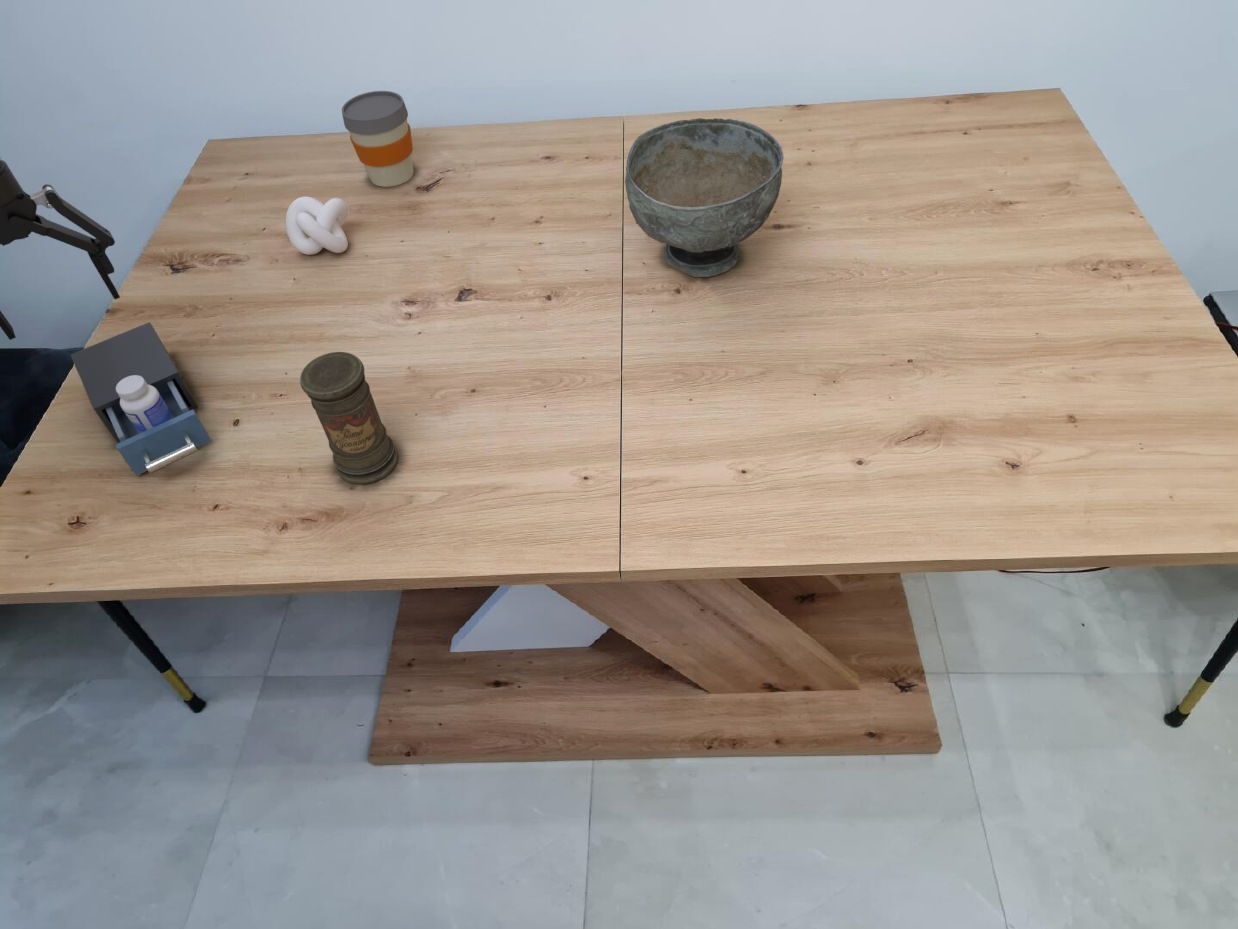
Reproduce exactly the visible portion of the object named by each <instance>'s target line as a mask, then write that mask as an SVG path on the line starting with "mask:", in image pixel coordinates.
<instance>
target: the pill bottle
mask: <svg viewBox="0 0 1238 929" xmlns="http://www.w3.org/2000/svg"><path fill="white" fill-rule="evenodd" d="M116 391H117V393H118V395H119V397H120V398H121V399H120V406H121V408H122V409H123V411H124V412H125V414H126V415H127V417H128V418H129V420H130V421H131V423H132V424H133V426H134V427H135V428H136V430H137V431H138V433H139V434H140V433H142V432H144V431H146V430H148V429H151V428H153V427H155V426H157V425H160V424H162V423H164V422H166V421H168V420H171V419H173V418H175V417H174V416H173V414H172V413H171V411H170V409H169V408H168V406H167V405H166V403H165V402H164V400H163V398H162V397H161V395H160V394H159V392H158V391H157V389H156V388H155V387H153V386H151V385H148V384H147V383H146V381H145V380H144V379H143V377H141V376H138V375H132V376H128V377H126V378H124V379H122V380H121V381H120V382H119V383H118V384H117V386H116Z"/></svg>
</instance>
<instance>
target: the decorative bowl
mask: <svg viewBox="0 0 1238 929" xmlns="http://www.w3.org/2000/svg"><path fill="white" fill-rule="evenodd" d="M784 158H785V157H784V151H783V149H782V146H781V145H780V143H779V142H778V140H777V139H776V138H775V137H774V136H773V135H771V134H770V133H769V132H767V131H766V130H764V129H763V128H761V127H759V126H757V125H756V124H754V123H751V122H748V121H744V120H738V119H731V118H727V119H725V118H716V117H714V118H702V117H700V118H691V119H680V120H675V121H671V122H669V123H665V124H662V125H661V124H660V125H657V126H656V127H654V128H651V129H649V130H647V131H645V132H644V133H642V134H640V135H638V137H637V138H636V139H635V140H634V142H633V143H632V145H631V147H630V150H629V152H628V156H627V160H626V166H625V172H626V173H625V180H624V185H625V191H626V196H627V197H626V198H627V201H628V204H629V205H628V207H629V210H630V212H631V214H632V216H633V218H634V221H635V223H636V224H637V225H638V227H639V228H640V229H641V230H642V231H643V232H644V233H645V234H646V236H648V237H649V238H651V239H653V240H654V241H657V242H659V243H661V244H665V245H666V246H665V248H664V261H665V263H666V264H667V265H668V266H670V267H672V268H674V269H675V270H678V271H679V272H681V273H683V274H686V275H688V276H690V277H692V278H709V277H714V276H718V275H720V274H724V273H726V272H727V271H730V270H731V269H732V268H734V267H735V266H736V264H737V263H738V260H739V256H740V252H739V250H740V249H739V246H738V245H737V244H739V243H742V242H743V241H745V240H747V239H748V238H750V237H751V236H752V235H754V234H755V233H756V232H757V231H758V230H759V229H760V228H762V226H763V225H764V223H765V222H766V221H767V220H768V218H769V217H770V214H771V213H772V210H774V207H775V205H776V202H777V201H778V198H779V194H780V190H781V186H782V180H783V169H782V165H783V163H784Z"/></svg>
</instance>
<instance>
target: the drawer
mask: <svg viewBox="0 0 1238 929" xmlns="http://www.w3.org/2000/svg"><path fill="white" fill-rule="evenodd" d="M155 388H156V389H157V391H158V392H159V394H160V395H161V397H162V398H163V400H164V402H165V403H166V405H167V406H168V408H169V409H170V411H171V413H172V414H173V416H174V417H175V418H173V419H171V420H168V421H166V422H164V423H162V424H160V425H157V426H155V427H153V428H151V429H148V430H146V431H144V432H142V433H140V434H139V433H138V431H137V430H136V428H135V427H134V426H133V424H132V423H131V421H130V420H129V418H128V417H127V415H126V414H125V412H124V411H123V409H122V408H121V406H120V402H119V403H117V404H115V405H112V406H110V407H108V408H105V409H106V411H107V413H108V415H109V418H110V420H111V422H112V424H113V427H114V429H115V431H116V434H117V436H118V438H119V439H120V441H121V442H120V443H115V444H114V446H115V448H116V449H117V451H118V452H119V454H120V455H121V457H122V458H123V460H124V461H125V462H126V464H127V465H128V467H129V468H130V470H131V471H132V472H133V474H134V475H135V476H139V475H142V474H143V473H146V472H148V473H152V472H155V471H156V470H159V469H161V468H163V467H165V466H168V465H170V464H172V463H174V462H176V461H178V460H181V459H182V458H185V457H187V456H189V455H191V454H193V453H195V452H197V451H198V448H199V447H201V446H204V445H206V444H207V443H209V442H211V441H212V439H211V436H210V435H209V434H208V431H207V430H206V428H205V426H204V424H202V421H201V420H200V418H199V417H198V415H197V413H196V412H195V409H194V410H189V409H188V407H187V405H186V403H185V401H184V399H183V397H182V396H181V394H180V392H179V390H178V388H177V387H176V385H175V383H174V382H173V380H169V381H167V382H165V383H163V384H160V385H158V386H156V387H155Z"/></svg>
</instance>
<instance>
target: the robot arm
mask: <svg viewBox="0 0 1238 929" xmlns="http://www.w3.org/2000/svg"><path fill="white" fill-rule="evenodd" d="M40 205H41V206H43V207H45V208H46V209H54V210H55V211H56V212H57V213H58V214H59V215H61V216H62V217H63V218H65V219H67V220H68V221H70V222H71V223H73V224H74V225H75V226H77V227H78V228H80V229H81V230H83V231H85V232H86V233H87V234H89V235H90V236H88V235H87V234H84V233H81V232H79V231H77V230H74V229H71V228H69V227H67V226H64V225H61V224H59V223H56V222H55V221H51V220H49V219H47V218H45V217H44V216H43V215H41V214H37V210H38V209H37V208H38V206H40ZM32 233H34V234H36V235H39V236H42V237H48V238H50V239H53V240H56V241H59V242H61V243H64V244H67V245H69V246H72V247H73V248H74V247H75V248H77V249H79V250H82V251H84V252H86V253H87V254H88V257H89V259H90V260H91V263H92V264H93V266H94V267H95V269H96V271H97V273H98V274H99V276H100V277H101V279H102V282H103V283H104V284H105V286H106V288H107V289H108V291H109V292H110V294H111V297H112V298H113V299H114V300H118V299H120V298H121V295H120V293H119V292H118V290H117V288H116V285H114V283H113V281H112V280H111V277H110V276H109V275H111V274H113V273H114V274H115V268H114V266H113V263H112V262H111V260H110V258H109V256H108V255H107V254H106V250H107V248H109V247H113V246H114V245H115V243H116V242H115V239H114V236H113V235H112V233H111V231H110V230H108V228H106V227H104V226H103V225H101V224H100V223H98V222H97V221H95V219H92V218H91V217H89V216H88V215H87V214H85V213H84V212H83V211H81V210H80V209H78V208H77V207H75V206H74V205H72V204H70V203H69V202H68V201H66V200H65V199H63V197H61V196H60V195H59V193H58V192H57V191H56V189H55V188H54V187H53V186H52V185H51V184H48V183H46V184H44V185H43V186H42V188H41V190H39V191H38V192H36V193H33V194H28V193H27V192H25V190H24V189H23V188H22V186H21V185H20V183H19V180H17V178H16V177H15V175H14V173H13V172H12V170H11V168H10V167H9V165H8V164H7V162H6V160H5V161H4V160H3V159H2V154H1V153H0V245H2V247H4V246H7V245H9V244H11V243H13V242H14V241H18V240H25V239H27V238H29V237H30V236H29V235H30V234H32ZM0 328H1V330H2V331H3V333H4V334H5V336H6V337H7V339H9V341H11V340H13V339H16V338H17V336H16V334H15V331H14V328H13V326H12V325H11V323H10V322H9V320H8V319H7V318H6V316H5V315H4V314H3V312H2V311H1V310H0Z"/></svg>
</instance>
